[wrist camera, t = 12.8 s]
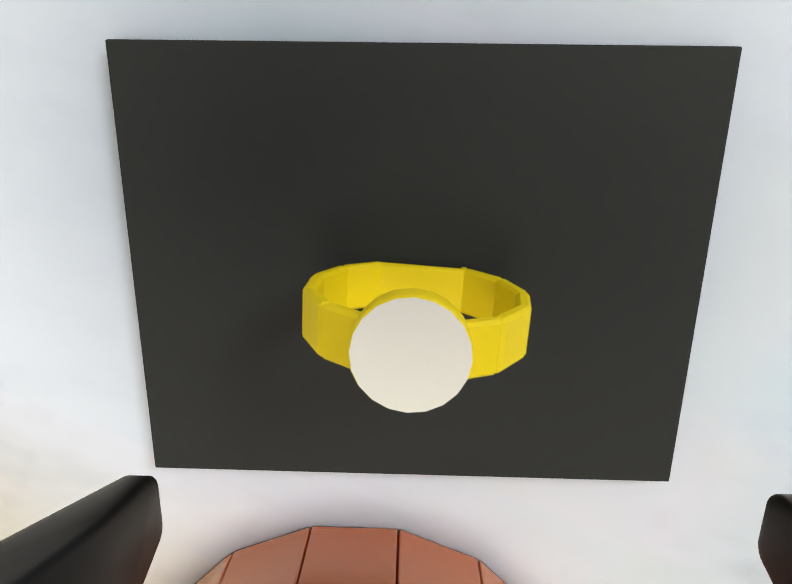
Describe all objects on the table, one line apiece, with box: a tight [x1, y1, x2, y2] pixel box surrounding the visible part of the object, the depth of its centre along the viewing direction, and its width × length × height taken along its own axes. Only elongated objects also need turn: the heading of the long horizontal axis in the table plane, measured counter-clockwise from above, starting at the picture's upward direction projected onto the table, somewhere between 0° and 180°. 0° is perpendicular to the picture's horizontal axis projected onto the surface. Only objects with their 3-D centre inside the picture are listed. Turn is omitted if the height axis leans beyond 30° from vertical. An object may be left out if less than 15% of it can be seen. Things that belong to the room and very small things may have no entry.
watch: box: [302, 261, 532, 413], centre depth 15 cm, size 6×3×6 cm, turn 87°
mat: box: [106, 39, 742, 481], centre depth 19 cm, size 18×14×1 cm
